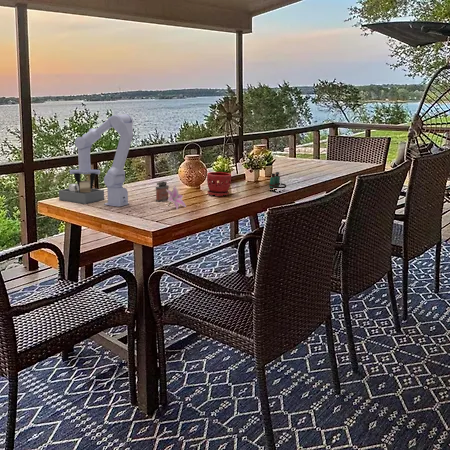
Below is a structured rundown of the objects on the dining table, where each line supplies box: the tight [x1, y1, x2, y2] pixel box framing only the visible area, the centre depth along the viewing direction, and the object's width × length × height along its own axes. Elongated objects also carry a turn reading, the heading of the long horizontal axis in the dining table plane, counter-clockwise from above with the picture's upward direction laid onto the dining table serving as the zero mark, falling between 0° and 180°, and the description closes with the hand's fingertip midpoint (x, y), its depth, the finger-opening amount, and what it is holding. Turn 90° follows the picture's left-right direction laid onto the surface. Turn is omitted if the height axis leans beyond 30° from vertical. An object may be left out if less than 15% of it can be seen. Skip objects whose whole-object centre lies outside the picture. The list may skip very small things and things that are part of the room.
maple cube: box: [80, 180, 92, 193], centre depth 259 cm, size 5×5×5 cm
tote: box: [58, 187, 105, 205], centre depth 262 cm, size 18×14×5 cm
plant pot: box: [206, 171, 232, 197], centre depth 280 cm, size 13×13×12 cm
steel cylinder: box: [68, 183, 79, 193], centre depth 262 cm, size 5×5×7 cm
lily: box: [166, 185, 187, 210], centre depth 250 cm, size 12×12×10 cm
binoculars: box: [268, 171, 287, 190], centre depth 294 cm, size 9×11×10 cm
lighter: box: [155, 180, 170, 203], centre depth 263 cm, size 8×3×10 cm, turn 141°
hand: (85, 188), depth 259 cm, fingers closed on maple cube, 5 cm apart
